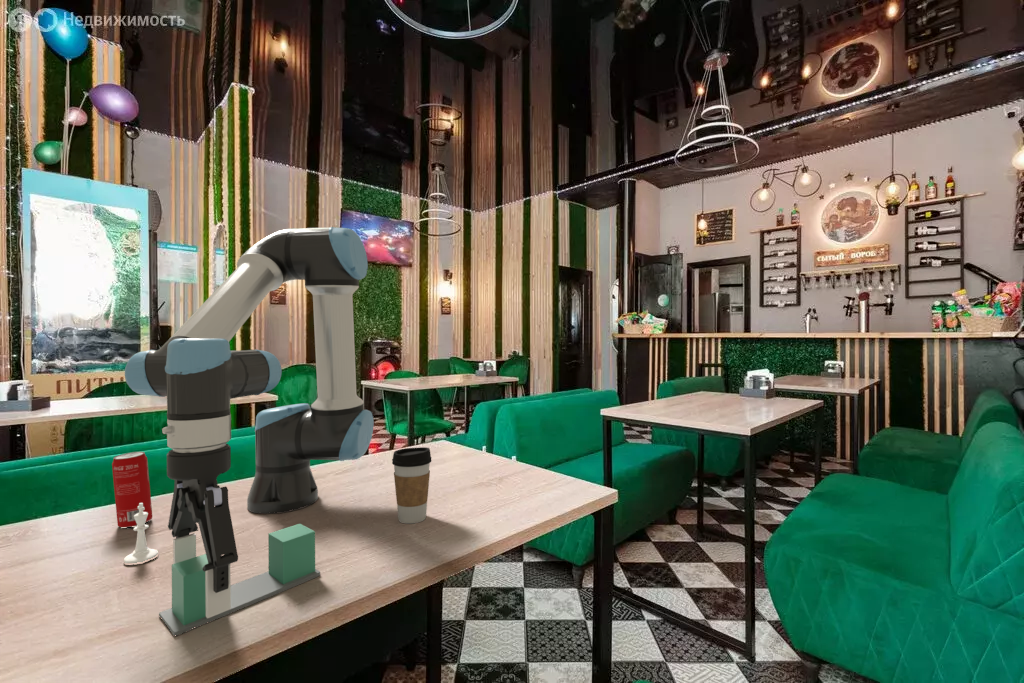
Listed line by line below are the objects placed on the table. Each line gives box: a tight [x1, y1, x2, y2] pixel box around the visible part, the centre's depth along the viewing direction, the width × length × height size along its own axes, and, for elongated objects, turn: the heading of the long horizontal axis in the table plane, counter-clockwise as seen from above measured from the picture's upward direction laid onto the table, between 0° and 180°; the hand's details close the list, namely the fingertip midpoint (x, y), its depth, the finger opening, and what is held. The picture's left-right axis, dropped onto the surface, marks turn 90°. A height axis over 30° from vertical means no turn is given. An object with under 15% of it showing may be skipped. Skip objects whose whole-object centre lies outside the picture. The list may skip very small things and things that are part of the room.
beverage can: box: [111, 451, 153, 528], centre depth 97 cm, size 6×6×15 cm
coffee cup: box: [391, 446, 432, 525], centre depth 99 cm, size 8×8×15 cm
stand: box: [158, 523, 321, 637], centre depth 70 cm, size 7×20×7 cm, turn 141°
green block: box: [171, 553, 208, 625], centre depth 65 cm, size 5×5×7 cm
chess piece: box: [123, 503, 159, 563], centre depth 81 cm, size 5×5×10 cm
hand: (200, 595), depth 65 cm, fingers open, 13 cm apart
